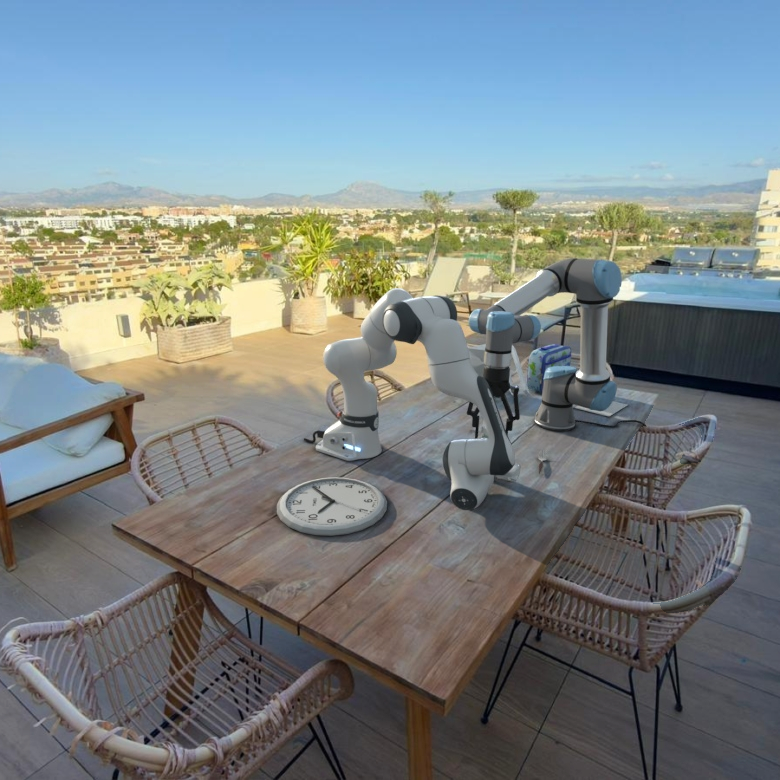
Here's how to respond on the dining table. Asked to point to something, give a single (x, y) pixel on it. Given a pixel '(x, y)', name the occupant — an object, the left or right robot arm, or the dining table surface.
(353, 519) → the wall clock
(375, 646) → the dining table surface
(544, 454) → the fork
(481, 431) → the lid
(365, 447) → the left robot arm
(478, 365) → the white plastic object
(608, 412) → the invitation card
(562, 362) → the lunch box
